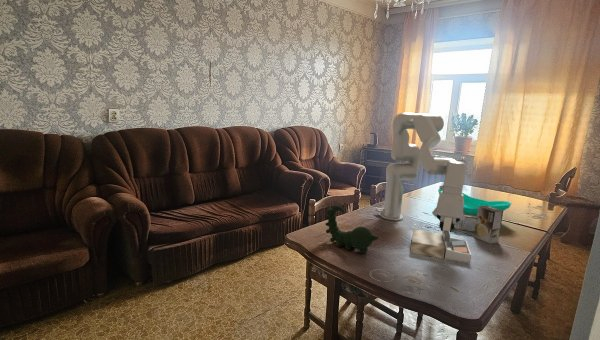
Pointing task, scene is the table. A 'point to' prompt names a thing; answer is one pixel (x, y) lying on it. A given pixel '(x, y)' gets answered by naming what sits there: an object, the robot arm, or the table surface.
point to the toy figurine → (348, 233)
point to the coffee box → (488, 224)
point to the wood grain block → (428, 243)
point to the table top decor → (480, 204)
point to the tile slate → (458, 244)
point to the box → (455, 255)
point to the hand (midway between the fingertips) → (445, 230)
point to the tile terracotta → (461, 249)
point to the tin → (466, 223)
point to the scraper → (446, 228)
